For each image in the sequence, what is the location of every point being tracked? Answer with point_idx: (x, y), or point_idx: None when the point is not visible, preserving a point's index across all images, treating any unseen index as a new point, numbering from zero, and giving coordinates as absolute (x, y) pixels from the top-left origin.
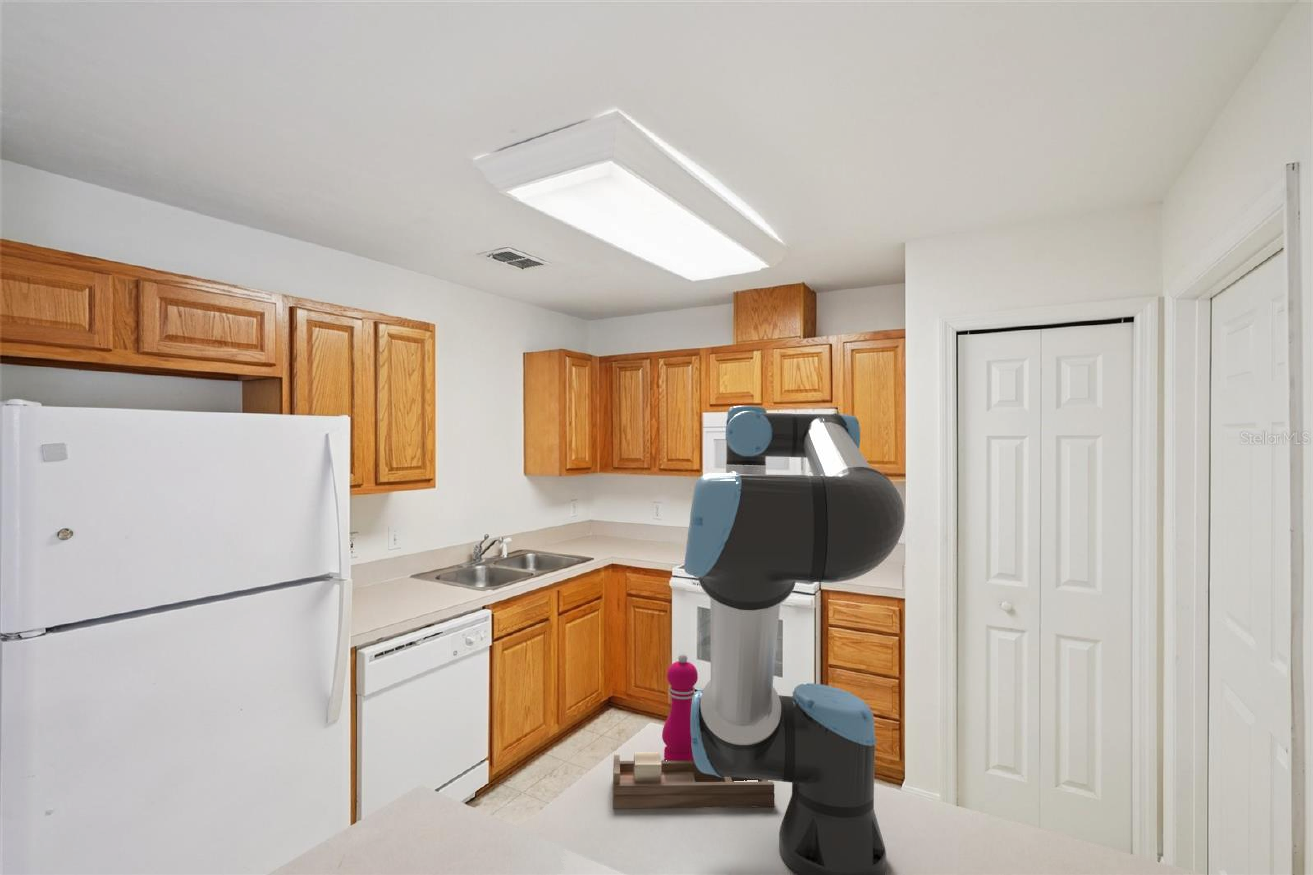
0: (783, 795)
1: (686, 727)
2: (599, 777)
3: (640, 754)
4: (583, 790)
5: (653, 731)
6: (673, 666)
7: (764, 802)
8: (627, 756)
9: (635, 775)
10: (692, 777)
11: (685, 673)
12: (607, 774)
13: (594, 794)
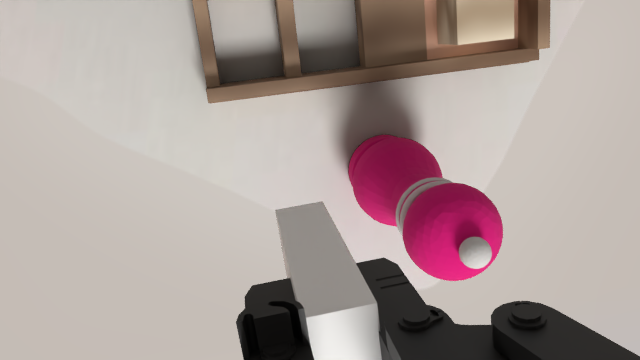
0: (166, 36)
1: (395, 157)
2: (542, 70)
3: (500, 27)
4: (570, 15)
5: (434, 282)
6: (495, 225)
7: None
8: (488, 163)
9: None
10: (367, 41)
11: (454, 198)
12: (527, 83)
13: (550, 2)
